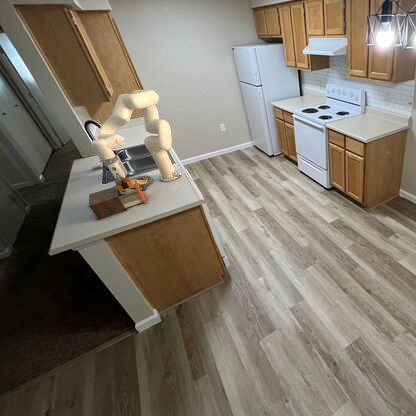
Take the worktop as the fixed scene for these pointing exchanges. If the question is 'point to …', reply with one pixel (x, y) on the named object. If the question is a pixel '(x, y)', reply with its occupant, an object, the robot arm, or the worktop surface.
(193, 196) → the worktop surface
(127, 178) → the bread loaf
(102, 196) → the cabinet
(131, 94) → the robot arm
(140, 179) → the food plate
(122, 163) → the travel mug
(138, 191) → the drawer
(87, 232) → the worktop surface
